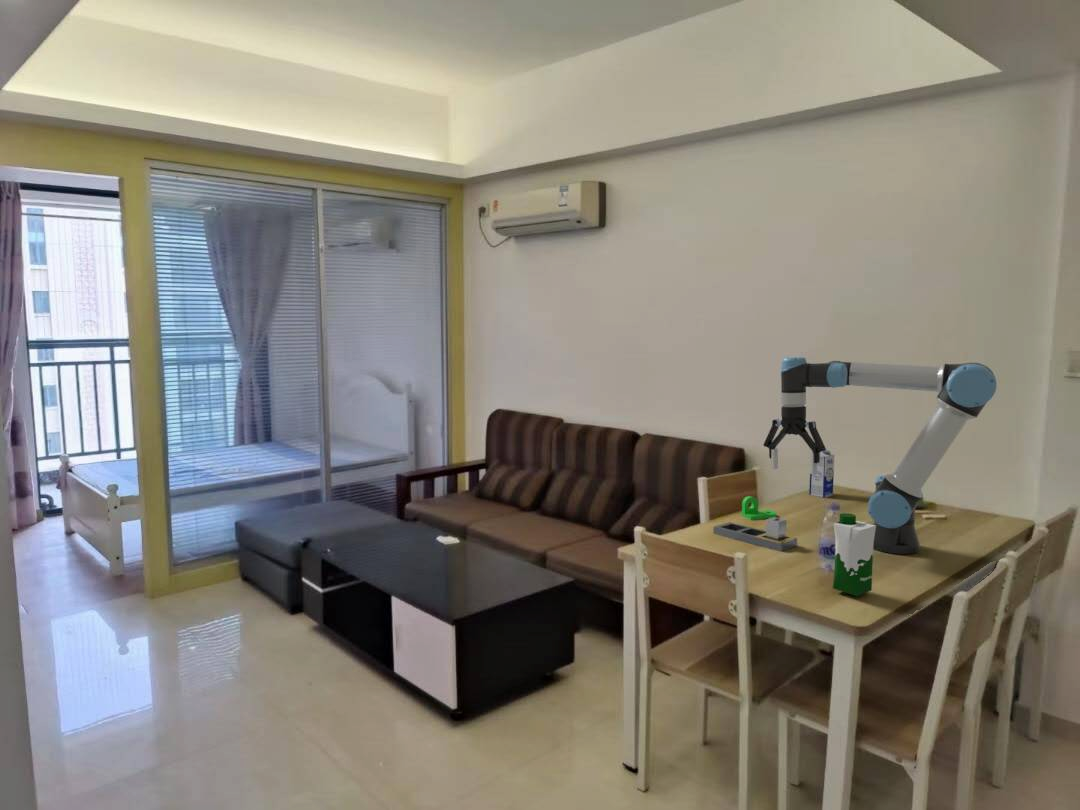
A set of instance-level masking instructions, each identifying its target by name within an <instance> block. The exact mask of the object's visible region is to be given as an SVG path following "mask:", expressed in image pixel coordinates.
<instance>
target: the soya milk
mask: <svg viewBox="0 0 1080 810" xmlns="http://www.w3.org/2000/svg"><path fill="white" fill-rule="evenodd" d="M875 529H876V525H873V524H871V523H868V522H865V521H859V520H857V515H856V514H853V513H840V514H839V521H837V522H835V523H833V530H834V536H835V543H834V570H833V582H832V589H833V590H836V591H840V592H843V593H846V594H850V595H852V596H853V595H854V596H856V597H858V596H861V595H864V594H866V593H868V592H871V591H873V589H872V588H873V560H874V549H873V543H874V536H875Z"/></svg>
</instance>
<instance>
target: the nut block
mask: <svg viewBox="0 0 1080 810" xmlns="http://www.w3.org/2000/svg"><path fill="white" fill-rule="evenodd" d="M765 520H766V521H765V531H766V538H768V539H772V540H776V541H781V540H784V539H786V535H787V519H785V518H779V517H777V516H776V517H772V518H768V519H765Z"/></svg>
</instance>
